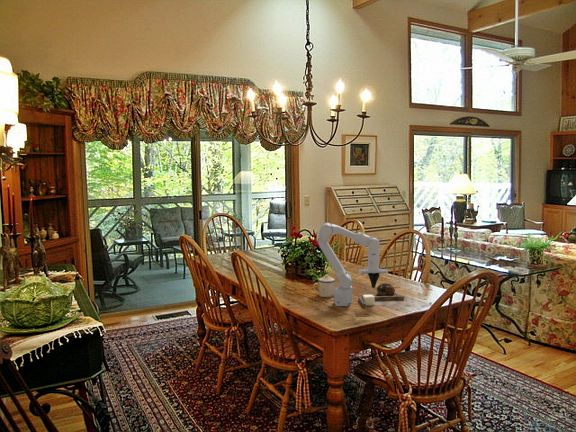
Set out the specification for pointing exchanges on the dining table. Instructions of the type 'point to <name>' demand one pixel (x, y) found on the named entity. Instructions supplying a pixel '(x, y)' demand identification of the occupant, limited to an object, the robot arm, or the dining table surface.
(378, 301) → the trap box
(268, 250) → the dining table surface
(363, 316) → the dining table surface
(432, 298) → the dining table surface
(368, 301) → the cream block
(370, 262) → the robot arm
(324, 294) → the teacup with lid
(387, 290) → the decorative turtle
